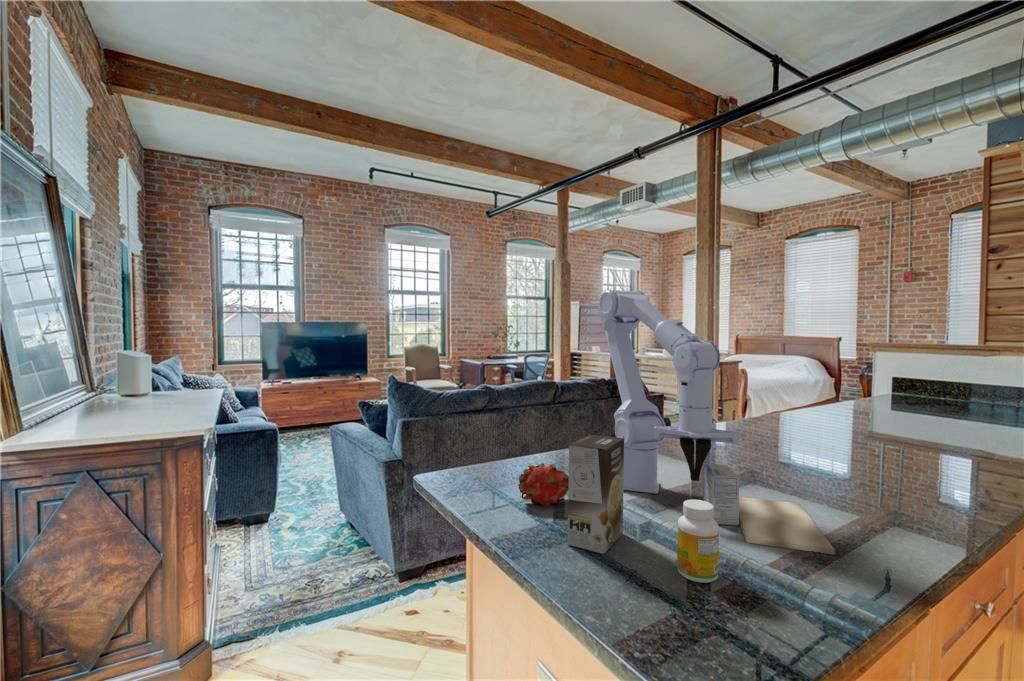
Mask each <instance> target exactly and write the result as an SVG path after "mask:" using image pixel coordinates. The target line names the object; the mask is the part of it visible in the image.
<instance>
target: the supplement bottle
mask: <svg viewBox="0 0 1024 681" xmlns="http://www.w3.org/2000/svg"><path fill="white" fill-rule="evenodd" d="M682 513H683V515H681V516H680V517H679V518H678V521H677V553H676V555H677V558H676V560H677V561H676V562H677V563H676V567H677V569H676V570H677V572H678V573H679V575H680V576H682V577H684V578H685V579H687V580H690V581H691V582H692V581H693V582H697V583H700V584H701V583H705V584H706V583H713V582H715V581H716V580H717V579H718V578H719V572H720V571H719V570H720V569H719V568H720V526H719V524H717V522H716V521H715V520H713V519H712V518H713V517H714V506H713V505H712V504H711V503H709V502H706V501H704V500H702V499H686V500H684V501H683V504H682Z"/></svg>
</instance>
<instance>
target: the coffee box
mask: <svg viewBox="0 0 1024 681" xmlns="http://www.w3.org/2000/svg"><path fill="white" fill-rule="evenodd" d="M568 477H569V485H568V492H567V494H568V495H567V498H568V499H567V504H568V505H567V506H568V507H567V545H568V546H569V547H570V546H571V547H575V548H578V549H583V550H587V551H590V552H594V553H599V554H602V555H603V554H605V553H606V552H607V551H608V550H610V548H611V547H612V546H613V545H614V544H615V543H616V541H617V540H618V539H619V538H620V537H621V536H622V534H623V532H624V531H623V530H624V490H623V486H624V439H623V438H617V437H616V436H609V435H608V436H607V435H597V434H588V435H586V436H584V437H582V438H580V439H577V440H575V441H572V442H570V443H569V444H568Z"/></svg>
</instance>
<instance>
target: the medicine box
mask: <svg viewBox="0 0 1024 681" xmlns="http://www.w3.org/2000/svg"><path fill="white" fill-rule="evenodd" d="M739 481H740V479H739V476H738V475H737V474H736V473H735V472H734V470H732V469H731V468H730V467H729V466H728V465H727V464H717V463H708V464H707V463H706V464H704V465H703V501H706V502H709V503H711V504H712V505H713V506H714V517H713V518H712V519H713V520H715V521H716V522H717V524H718V525H722V526H723V525H724V526H725V525H726V526H736V527H738V526H740V525H739V524H740V522H739V497H740V486H739V485H740V482H739Z"/></svg>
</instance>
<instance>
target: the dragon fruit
mask: <svg viewBox="0 0 1024 681" xmlns="http://www.w3.org/2000/svg"><path fill="white" fill-rule="evenodd" d="M527 467H529V468H526V469H524V470H523V473H521V474H520V475H519V477H518V478H519V480H518V482H519V484H517V486H518V490H519V492H520V493H521V498H522V499H523V500H524V501H531V504H532V505H537V504H538V503H540V504H541V505H542V506H545V507H549V506H550V504H557V505H559V504H561V503H562V502H563V501H565V499H564V498H563V497H564V496H566V495H567V494H568V485H569V474H567V473H565V471H564V470H562V469H561V470H559V469H557V467H556V465H555V464H554V463H551V464H549V465H548V466H546V465H545V463H543V462H542V463H540V464H538V465H536V466H535V465H532V464H528V466H527ZM524 495H525V496H524Z"/></svg>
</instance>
